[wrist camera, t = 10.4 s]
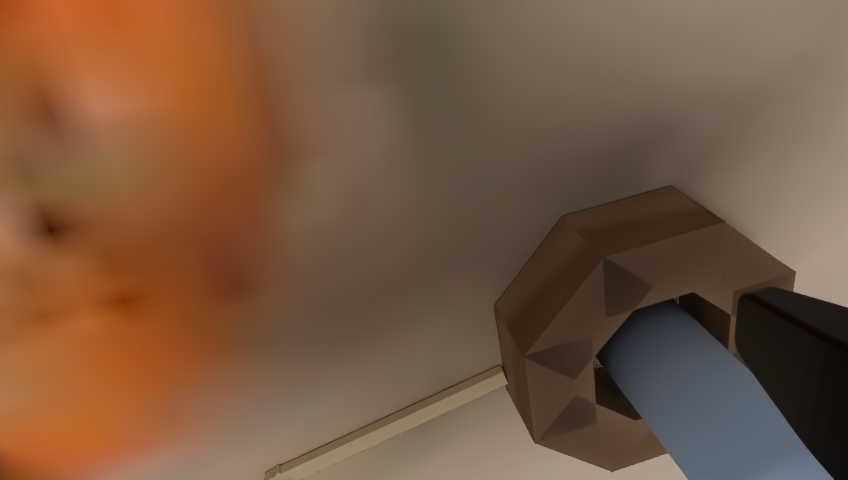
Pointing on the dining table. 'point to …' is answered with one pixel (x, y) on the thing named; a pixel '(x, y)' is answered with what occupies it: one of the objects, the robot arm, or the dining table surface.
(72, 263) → the dining table surface
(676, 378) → the tapered blue cylinder
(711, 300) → the bead
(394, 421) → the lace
